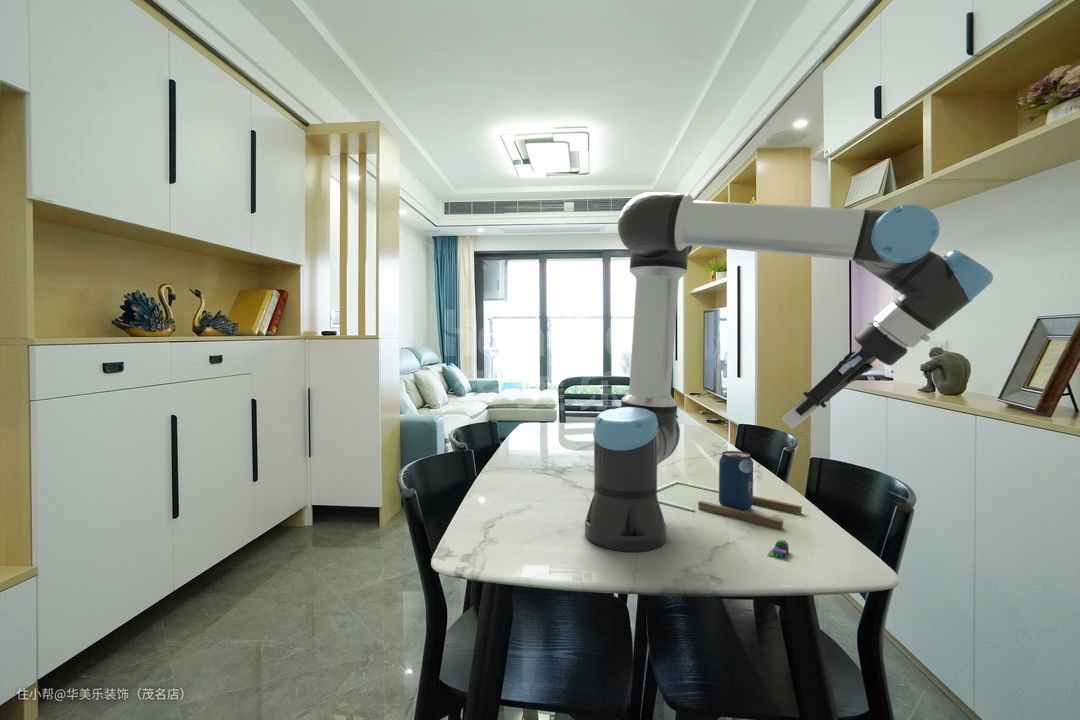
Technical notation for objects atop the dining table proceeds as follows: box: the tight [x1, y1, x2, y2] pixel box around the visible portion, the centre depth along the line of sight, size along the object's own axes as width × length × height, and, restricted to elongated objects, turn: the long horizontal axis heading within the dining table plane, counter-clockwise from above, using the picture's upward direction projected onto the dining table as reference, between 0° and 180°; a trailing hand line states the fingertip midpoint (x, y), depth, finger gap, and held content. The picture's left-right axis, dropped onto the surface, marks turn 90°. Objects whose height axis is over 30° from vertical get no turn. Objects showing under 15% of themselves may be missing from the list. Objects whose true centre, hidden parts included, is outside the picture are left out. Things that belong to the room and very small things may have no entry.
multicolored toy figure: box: [766, 539, 790, 560], centre depth 82 cm, size 4×3×2 cm, turn 143°
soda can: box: [718, 450, 754, 512], centre depth 105 cm, size 7×7×12 cm
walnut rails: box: [697, 495, 803, 530], centre depth 103 cm, size 13×17×2 cm
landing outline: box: [657, 480, 719, 512], centre depth 114 cm, size 18×14×1 cm
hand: (787, 423), depth 94 cm, fingers closed
